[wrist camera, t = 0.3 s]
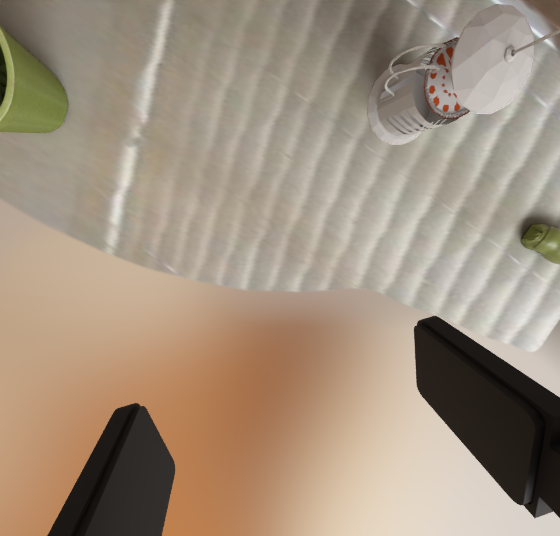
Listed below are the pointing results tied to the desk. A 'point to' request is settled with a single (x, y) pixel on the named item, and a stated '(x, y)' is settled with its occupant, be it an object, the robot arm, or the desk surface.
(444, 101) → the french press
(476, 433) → the robot arm
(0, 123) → the plant pot
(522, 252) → the desk surface
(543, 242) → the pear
